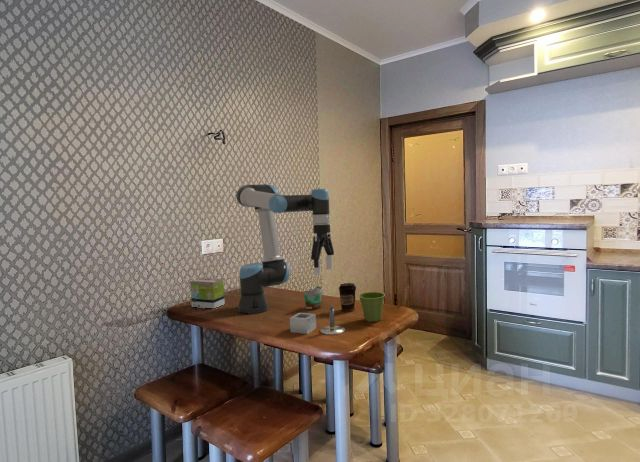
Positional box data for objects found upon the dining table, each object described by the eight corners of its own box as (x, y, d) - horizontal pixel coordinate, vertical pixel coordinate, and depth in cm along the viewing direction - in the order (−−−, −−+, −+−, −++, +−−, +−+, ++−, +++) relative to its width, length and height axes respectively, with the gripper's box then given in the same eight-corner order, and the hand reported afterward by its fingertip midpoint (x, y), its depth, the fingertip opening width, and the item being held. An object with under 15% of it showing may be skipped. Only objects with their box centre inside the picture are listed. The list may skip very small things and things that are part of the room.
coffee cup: (355, 313, 184) (354, 286, 183) (338, 312, 185) (337, 286, 184) (357, 308, 192) (356, 282, 191) (341, 307, 194) (340, 282, 193)
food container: (314, 312, 188) (313, 291, 188) (304, 310, 192) (303, 290, 191) (327, 305, 199) (326, 286, 198) (317, 304, 202) (316, 285, 201)
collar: (290, 332, 160) (289, 317, 160) (299, 326, 168) (299, 312, 167) (307, 334, 157) (306, 319, 157) (316, 328, 164) (315, 314, 164)
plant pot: (365, 314, 180) (364, 291, 179) (390, 317, 174) (389, 292, 173) (354, 322, 170) (353, 296, 169) (380, 325, 164) (379, 299, 163)
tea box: (191, 308, 208) (189, 281, 207) (203, 303, 217) (201, 277, 216) (214, 309, 202) (212, 281, 201) (225, 304, 212) (223, 278, 211)
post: (316, 333, 157) (314, 306, 157) (326, 325, 166) (325, 300, 166) (338, 335, 153) (337, 308, 152) (348, 328, 162) (347, 302, 161)
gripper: (317, 225, 157) (320, 277, 159) (339, 222, 180) (341, 267, 181) (301, 226, 160) (303, 277, 162) (324, 222, 183) (326, 267, 184)
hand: (323, 272), depth 172 cm, fingers open, 13 cm apart
